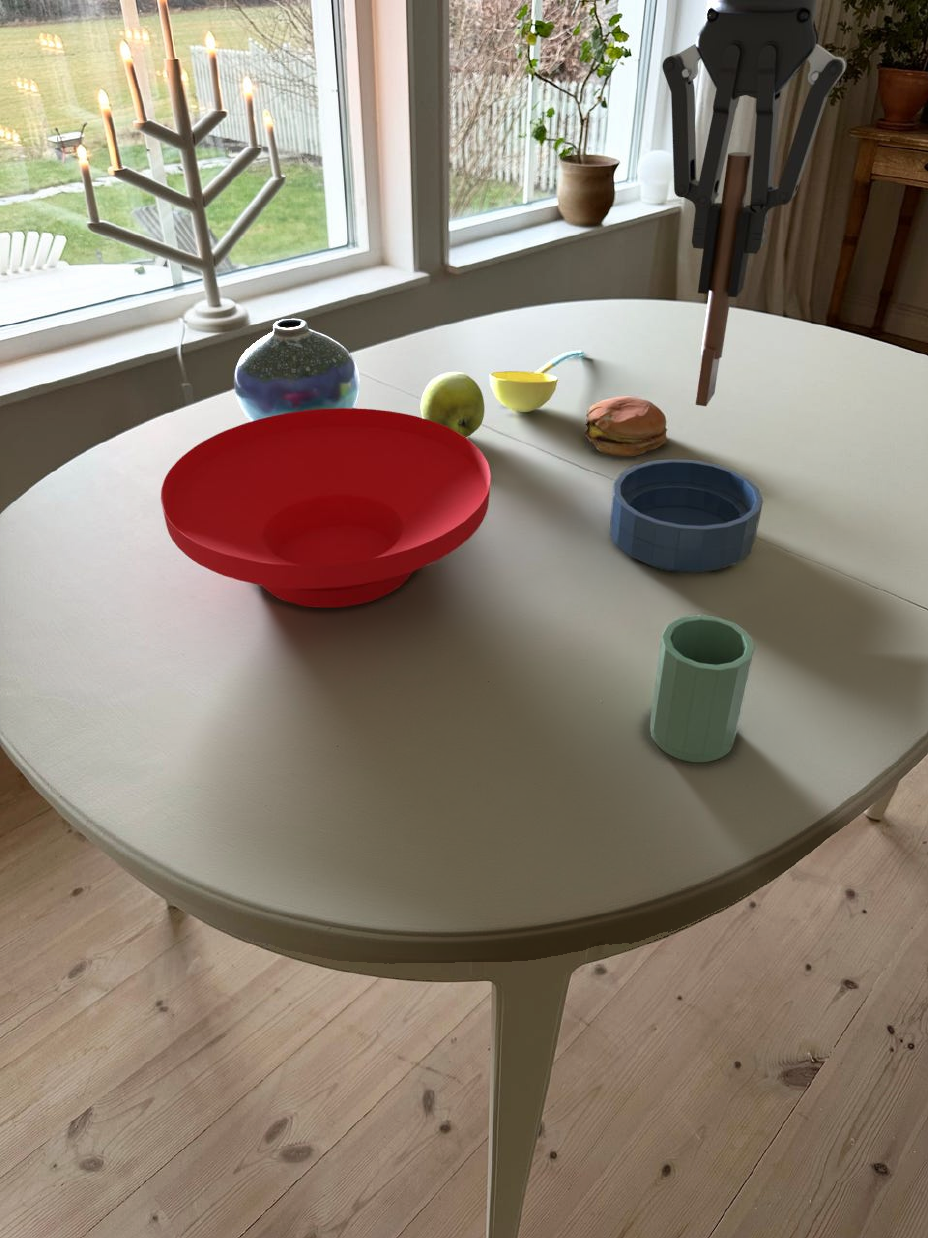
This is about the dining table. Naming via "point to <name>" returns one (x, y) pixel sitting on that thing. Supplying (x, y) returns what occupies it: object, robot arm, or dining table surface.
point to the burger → (625, 426)
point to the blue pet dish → (685, 515)
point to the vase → (295, 373)
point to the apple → (454, 403)
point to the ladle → (527, 386)
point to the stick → (722, 273)
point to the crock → (700, 687)
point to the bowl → (326, 502)
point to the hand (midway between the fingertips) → (720, 290)
